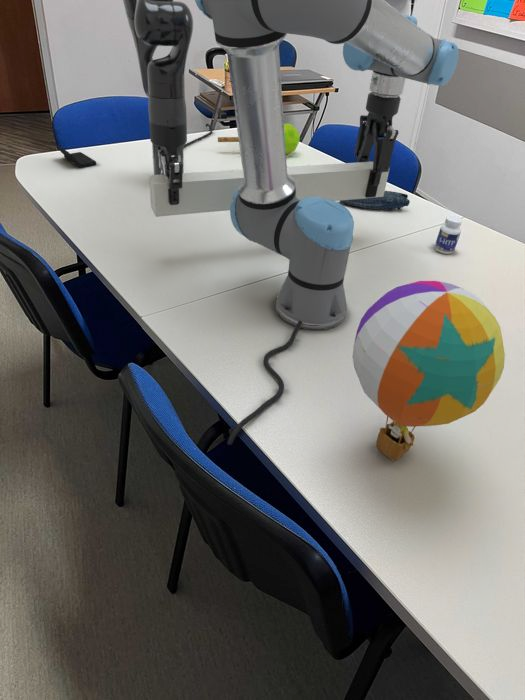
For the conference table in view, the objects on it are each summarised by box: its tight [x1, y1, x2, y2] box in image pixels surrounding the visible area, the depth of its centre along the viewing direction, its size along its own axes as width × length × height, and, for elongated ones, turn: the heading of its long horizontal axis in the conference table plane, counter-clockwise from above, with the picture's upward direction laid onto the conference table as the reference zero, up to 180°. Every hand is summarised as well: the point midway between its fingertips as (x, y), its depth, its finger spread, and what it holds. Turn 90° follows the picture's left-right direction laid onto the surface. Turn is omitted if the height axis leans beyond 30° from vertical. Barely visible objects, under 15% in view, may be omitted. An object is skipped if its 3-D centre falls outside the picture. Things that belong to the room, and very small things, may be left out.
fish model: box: [339, 190, 411, 211], centre depth 158 cm, size 7×21×5 cm, turn 84°
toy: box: [352, 280, 506, 462], centre depth 74 cm, size 20×20×30 cm
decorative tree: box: [217, 123, 301, 155], centre depth 187 cm, size 18×10×30 cm
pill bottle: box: [434, 215, 463, 255], centre depth 137 cm, size 5×5×9 cm
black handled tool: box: [52, 142, 97, 168], centre depth 169 cm, size 12×7×10 cm
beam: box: [148, 161, 391, 218], centre depth 123 cm, size 59×5×7 cm, turn 111°
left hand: (171, 198), depth 116 cm, fingers closed on beam, 5 cm apart
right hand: (364, 192), depth 133 cm, fingers closed on beam, 5 cm apart
